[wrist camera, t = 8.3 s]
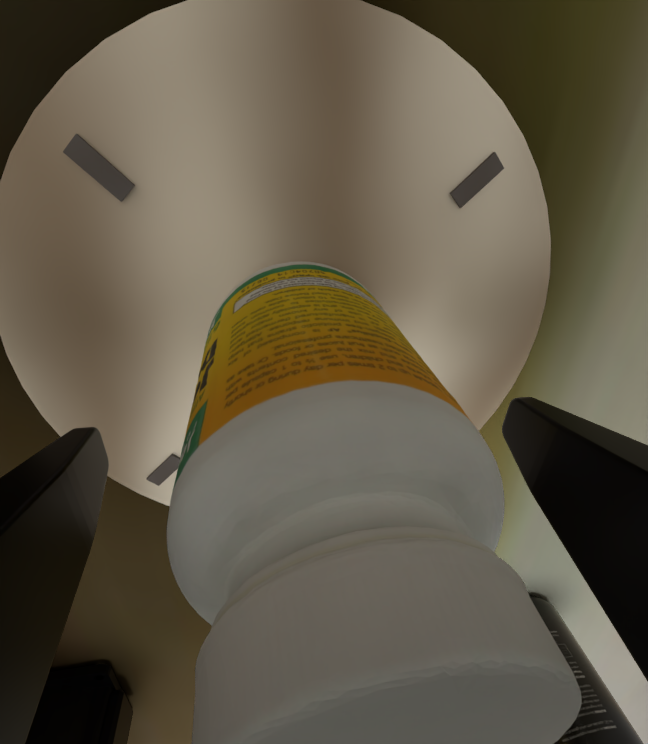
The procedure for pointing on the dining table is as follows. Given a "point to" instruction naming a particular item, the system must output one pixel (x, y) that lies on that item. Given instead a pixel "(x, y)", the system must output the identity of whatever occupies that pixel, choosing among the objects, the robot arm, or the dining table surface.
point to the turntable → (260, 209)
